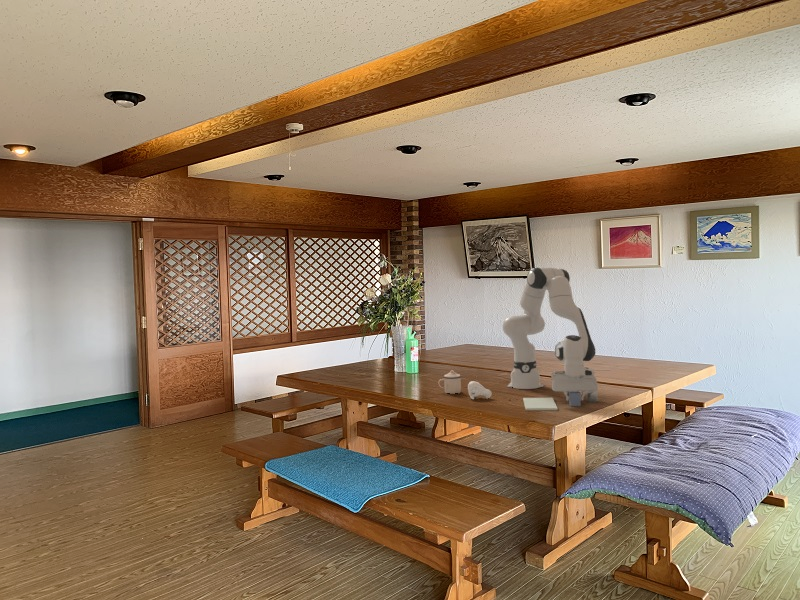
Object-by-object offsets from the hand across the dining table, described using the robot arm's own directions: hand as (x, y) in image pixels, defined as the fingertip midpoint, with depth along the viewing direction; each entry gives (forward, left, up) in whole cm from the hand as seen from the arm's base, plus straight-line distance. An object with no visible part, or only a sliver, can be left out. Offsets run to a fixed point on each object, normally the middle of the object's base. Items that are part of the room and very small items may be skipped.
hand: (574, 400), depth 276 cm
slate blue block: (0, 0, -2) cm, 2 cm away
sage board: (-1, -16, -2) cm, 16 cm away
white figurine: (-16, -44, -2) cm, 47 cm away
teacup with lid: (-31, -60, -2) cm, 68 cm away
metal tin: (-8, +9, -2) cm, 12 cm away
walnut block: (-7, 0, -2) cm, 7 cm away
